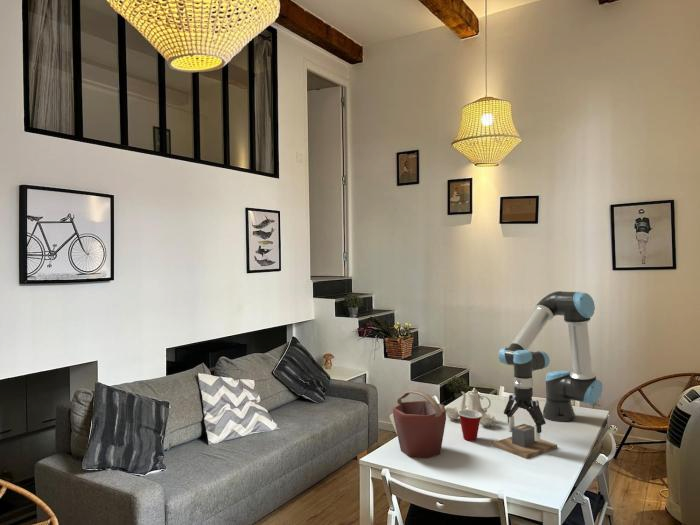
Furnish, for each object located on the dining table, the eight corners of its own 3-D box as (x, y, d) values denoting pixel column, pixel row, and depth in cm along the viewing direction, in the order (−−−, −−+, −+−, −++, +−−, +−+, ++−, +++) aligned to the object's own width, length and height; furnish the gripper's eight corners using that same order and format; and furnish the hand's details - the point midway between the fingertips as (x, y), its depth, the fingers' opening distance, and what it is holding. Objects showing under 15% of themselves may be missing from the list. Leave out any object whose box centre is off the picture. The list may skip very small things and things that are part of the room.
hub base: (522, 436, 244) (522, 423, 244) (557, 448, 229) (556, 434, 229) (492, 445, 233) (492, 432, 233) (526, 458, 218) (525, 444, 218)
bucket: (386, 445, 237) (385, 389, 237) (430, 438, 245) (429, 383, 245) (412, 465, 214) (410, 403, 214) (459, 456, 222) (458, 396, 222)
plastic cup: (481, 444, 236) (480, 417, 236) (456, 441, 240) (455, 414, 239) (484, 436, 246) (483, 410, 246) (460, 433, 250) (460, 408, 250)
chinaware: (439, 424, 269) (437, 392, 267) (452, 412, 283) (451, 382, 281) (494, 433, 254) (492, 399, 252) (505, 420, 267) (503, 388, 266)
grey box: (524, 447, 226) (523, 430, 226) (512, 443, 231) (511, 426, 231) (536, 443, 230) (536, 426, 230) (524, 439, 236) (524, 423, 236)
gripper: (495, 382, 239) (496, 429, 239) (542, 394, 218) (543, 445, 218) (506, 380, 243) (507, 426, 244) (553, 391, 222) (554, 441, 223)
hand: (524, 435), depth 231 cm, fingers open, 13 cm apart
